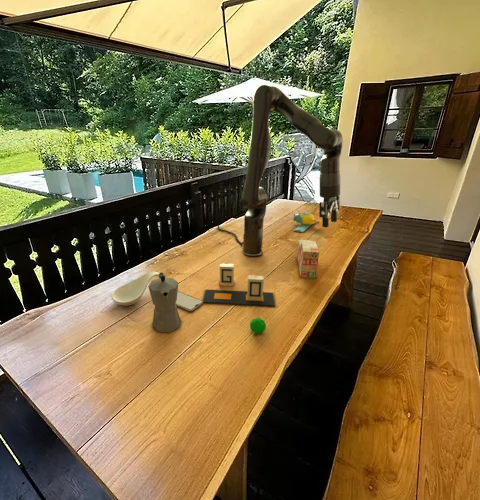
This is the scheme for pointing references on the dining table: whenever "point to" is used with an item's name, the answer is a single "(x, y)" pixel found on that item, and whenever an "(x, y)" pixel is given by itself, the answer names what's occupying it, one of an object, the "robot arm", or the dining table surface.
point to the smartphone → (187, 301)
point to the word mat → (237, 298)
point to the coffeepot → (164, 303)
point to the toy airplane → (304, 221)
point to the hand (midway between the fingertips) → (329, 224)
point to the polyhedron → (258, 325)
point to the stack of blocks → (307, 258)
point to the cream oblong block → (227, 274)
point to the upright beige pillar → (255, 287)
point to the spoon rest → (132, 290)
